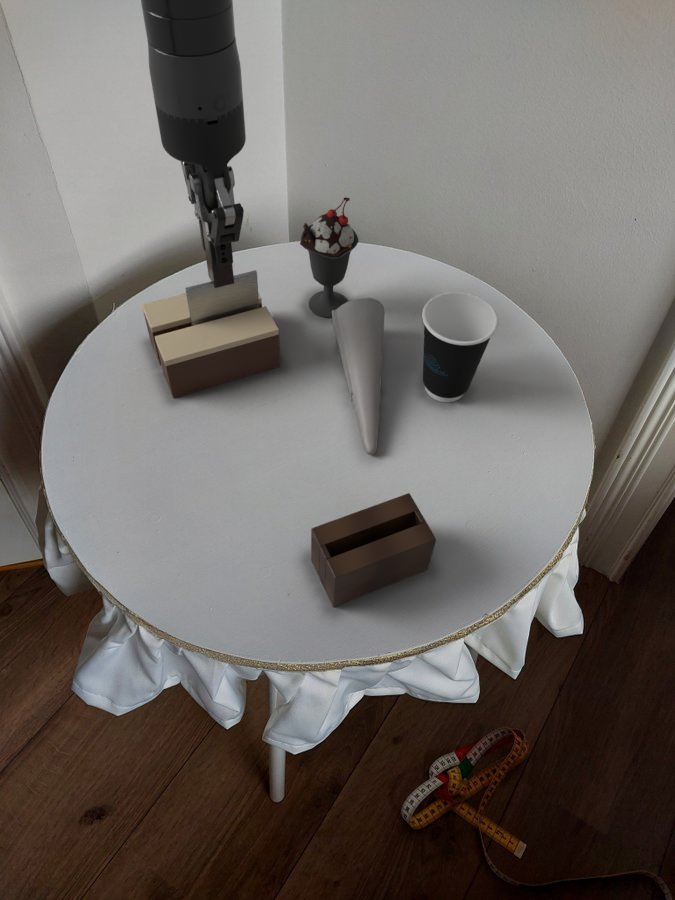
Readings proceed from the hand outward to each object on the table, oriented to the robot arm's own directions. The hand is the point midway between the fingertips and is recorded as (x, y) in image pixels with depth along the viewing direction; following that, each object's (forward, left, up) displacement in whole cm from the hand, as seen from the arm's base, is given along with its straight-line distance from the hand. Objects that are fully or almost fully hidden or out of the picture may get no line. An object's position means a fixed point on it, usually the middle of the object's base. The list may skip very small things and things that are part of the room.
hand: (218, 256), depth 76 cm
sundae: (+14, +3, -14) cm, 20 cm away
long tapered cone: (+13, -12, -14) cm, 23 cm away
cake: (-2, 0, -14) cm, 14 cm away
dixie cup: (+21, -15, -14) cm, 29 cm away
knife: (0, 0, -13) cm, 13 cm away
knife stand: (+3, -32, -14) cm, 35 cm away
